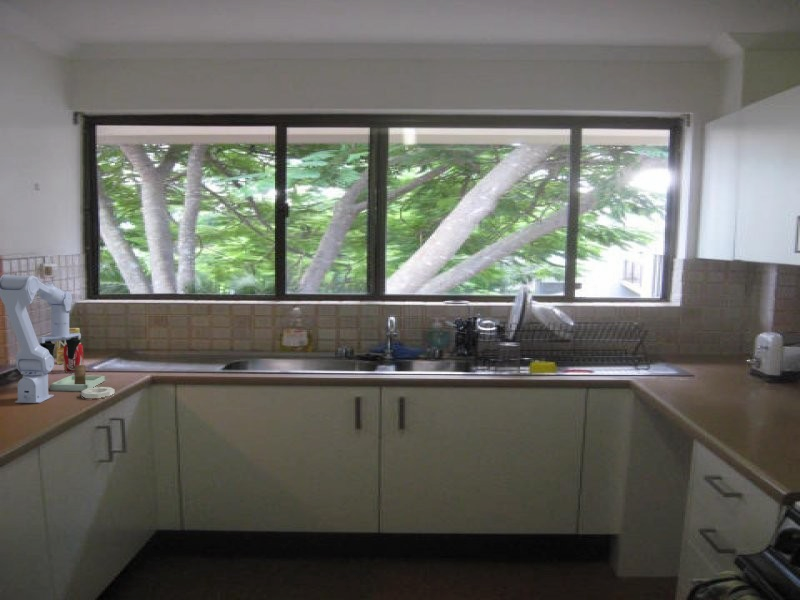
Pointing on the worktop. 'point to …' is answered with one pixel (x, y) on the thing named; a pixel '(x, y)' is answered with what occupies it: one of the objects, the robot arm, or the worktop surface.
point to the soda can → (76, 360)
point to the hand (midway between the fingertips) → (60, 360)
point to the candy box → (61, 345)
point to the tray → (70, 385)
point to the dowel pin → (80, 374)
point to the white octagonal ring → (98, 392)
